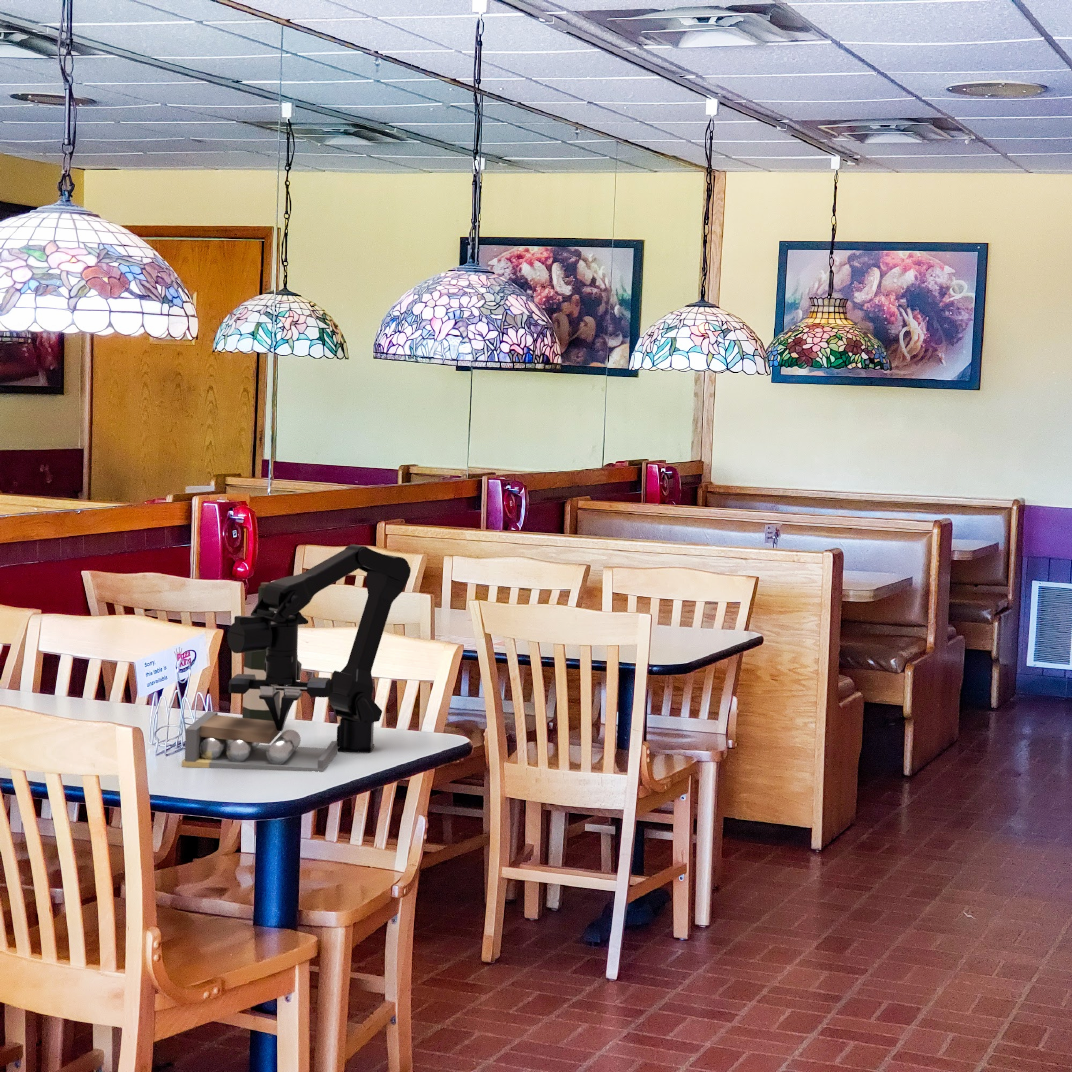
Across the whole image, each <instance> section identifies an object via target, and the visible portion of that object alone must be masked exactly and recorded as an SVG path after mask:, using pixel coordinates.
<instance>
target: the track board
mask: <svg viewBox="0 0 1072 1072" xmlns="http://www.w3.org/2000/svg"><path fill="white" fill-rule="evenodd" d="M213 715H219V714H218V711H207V712H205V713H204V714H202V715H201V716H200V717H199V718H198V719H196V720H195V721H194V722H193V723H191V724H190V725H189V726H187V728H185V737H184V738H185V739H184V740H185V741H184V747H185V749H184V758H183V760H182V761H181V767H184V768H201V769H202V768H203V769H220V770H221V769H222V770H223V769H225V770H227V769H228V770H230V769H231V770H255V771H256V770H257V771H288V772H312V771H315V772H316V773H317V772H318V771H319V772H321V773H323V772H324V771H325V770H326V768H328V766H329V765H330V764H331V762H332V761H333V760H334V758H335V757H336V755H338V747H337V740H332V741H331V742H330V743H329V745H328V746H327V747H314V746H313V747H312V746H298V747H297V748H296V750H295V751H294V752H293V753H292V754H291V755H290V756H289V758H288V759H287V760H286V761H285V762H284V763H283V764H280V765H275V764H272V763H271V762H269V760H268V759H267V756H266V752H267V749H268V748H269V746H270V745H271V744H259V745H258V746H257V747H256V748H255V749H254V750H253V751H252V753H251V754H250V755H249V756H248V757H247V758H246V759H245V760H244V761H242V762H233V761H231V760H230V759H229V758H228V756H227V748H226V749H225V750H224V751H223V752H222V753H221V754H220V755H219V756H218V757H217V758H216V759H213V760H207V759H205V758H203V757H202V756H201V754H200V751H199V747H200V744H201V743H202V741H204V740H205V739H206V738H207V737H200V727H201V725H202V724H203V723H205V722H206V721H207V720H208V719H209V718H211V717H212V716H213ZM332 759H333V760H332Z"/></svg>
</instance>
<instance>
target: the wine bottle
mask: <svg viewBox="0 0 1072 1072" xmlns="http://www.w3.org/2000/svg"><path fill="white" fill-rule="evenodd" d="M269 583H270V582H265V581H264V582H260V586H258V592H257V593H258V594H257V596H258V597H257V603H258V602H259V600H260V599H261V597H262V596H263V593H264V590H265V589H264V588H265V587H266V585H267V584H269ZM269 611H271V610H269ZM271 612H275V611H271ZM266 653H267V649H266V650H264V651H256V652H246V653H243V654H244V657H243V660H244V661H243V674H253V675H255V677H256V679H260V680H265V678H266V672H265V671H264V662H265V658H266ZM277 691H280V710H281V699H282V697H283V696H284V695H285V693H284V690H277ZM259 696H260V689H249V690H248V691H247V692H246V693H245V694H242V717H241V718H249V719H258V720H267V721H274V720H273V717H272V715H271V712H270V710H269V708H268V706H267V705H266V703H265V701H264V699H259Z"/></svg>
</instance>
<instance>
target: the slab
mask: <svg viewBox="0 0 1072 1072" xmlns="http://www.w3.org/2000/svg"><path fill="white" fill-rule="evenodd" d="M280 733H281V731H277V728H276V726H275V723H274V721H267V720H258V719H249V718H242V717H238V716H236V717H235V716H228V715H219V714H218V715H213V716H212V717H211V718H209V719H208V720H207V721H206V722H205V723H203V724H202V725H201V727H200V737H209V738H218V739H227V740H241V741H246V742H255V743H260V744H264V745H271V744H272V743H273V742H274V739H275V738H277V736H279V734H280Z"/></svg>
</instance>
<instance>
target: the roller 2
mask: <svg viewBox="0 0 1072 1072" xmlns="http://www.w3.org/2000/svg"><path fill="white" fill-rule="evenodd" d="M258 745H261V743H255V742H246V741H241V740H234V741H233V742H232V743H231V744H230V745H229V746H228V747H227V756H228V758H229V759H230V760H231V761H233V762H242V761H244V760H245V759H246V758H247V757H248V756H249V755H250V754H251V753H252V751H253V750H254V749H255V748H256V747H257V746H258Z"/></svg>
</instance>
